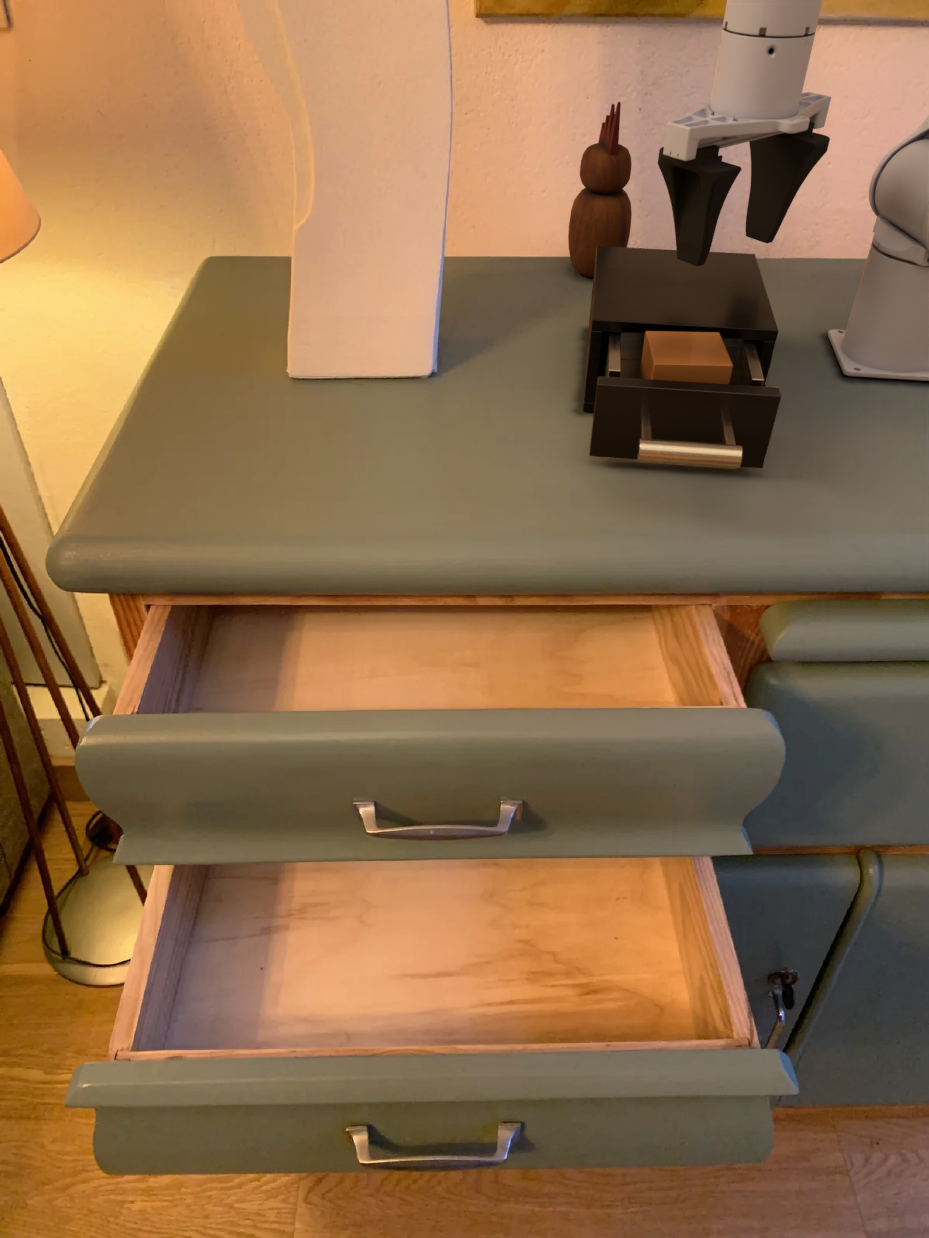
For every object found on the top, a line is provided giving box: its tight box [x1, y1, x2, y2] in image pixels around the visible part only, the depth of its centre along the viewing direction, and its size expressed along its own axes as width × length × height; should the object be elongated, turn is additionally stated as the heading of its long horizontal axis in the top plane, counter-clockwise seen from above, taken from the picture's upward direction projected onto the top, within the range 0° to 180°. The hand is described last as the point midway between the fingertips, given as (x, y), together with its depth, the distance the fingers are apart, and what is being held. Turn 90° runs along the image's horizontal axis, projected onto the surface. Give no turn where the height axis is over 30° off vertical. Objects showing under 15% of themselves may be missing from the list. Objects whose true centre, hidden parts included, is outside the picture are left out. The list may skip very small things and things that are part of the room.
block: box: [639, 331, 733, 384], centre depth 60 cm, size 5×5×5 cm
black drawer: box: [589, 331, 782, 470], centre depth 61 cm, size 19×11×5 cm, turn 173°
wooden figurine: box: [567, 101, 633, 278], centre depth 82 cm, size 7×6×15 cm
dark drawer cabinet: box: [582, 246, 780, 413], centre depth 69 cm, size 15×13×7 cm
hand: (725, 250), depth 65 cm, fingers open, 7 cm apart
